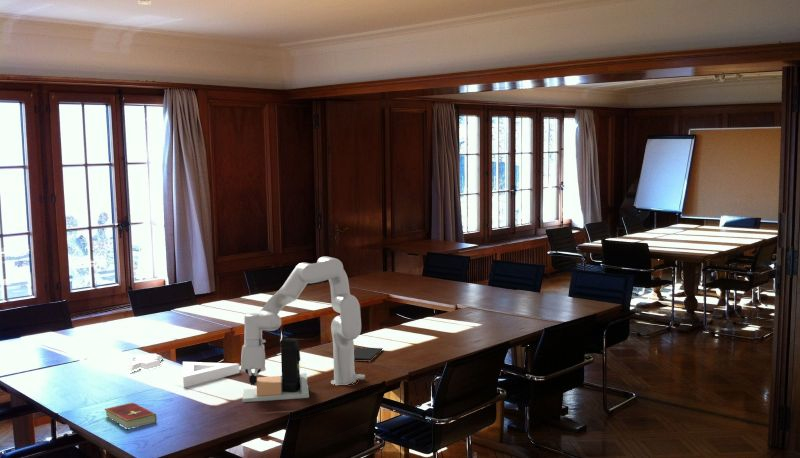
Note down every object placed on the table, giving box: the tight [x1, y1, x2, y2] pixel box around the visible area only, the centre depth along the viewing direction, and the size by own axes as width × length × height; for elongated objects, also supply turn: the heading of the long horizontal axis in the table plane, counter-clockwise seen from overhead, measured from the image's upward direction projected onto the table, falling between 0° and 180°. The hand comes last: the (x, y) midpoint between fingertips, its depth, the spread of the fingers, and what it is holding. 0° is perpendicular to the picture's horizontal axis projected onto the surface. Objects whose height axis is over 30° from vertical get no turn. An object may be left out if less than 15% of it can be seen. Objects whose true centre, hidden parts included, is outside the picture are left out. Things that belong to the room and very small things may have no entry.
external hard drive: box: [354, 347, 384, 360], centre depth 382 cm, size 14×23×3 cm, turn 165°
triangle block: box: [182, 361, 241, 388], centre depth 349 cm, size 30×26×6 cm
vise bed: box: [241, 372, 310, 403], centre depth 319 cm, size 28×14×8 cm, turn 99°
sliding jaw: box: [256, 375, 282, 396], centre depth 319 cm, size 11×10×5 cm
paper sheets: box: [127, 353, 164, 371], centre depth 372 cm, size 35×20×6 cm, turn 12°
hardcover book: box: [104, 402, 157, 429], centre depth 291 cm, size 12×21×4 cm, turn 43°
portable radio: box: [280, 333, 301, 392], centre depth 320 cm, size 8×6×25 cm
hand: (252, 384), depth 317 cm, fingers closed
